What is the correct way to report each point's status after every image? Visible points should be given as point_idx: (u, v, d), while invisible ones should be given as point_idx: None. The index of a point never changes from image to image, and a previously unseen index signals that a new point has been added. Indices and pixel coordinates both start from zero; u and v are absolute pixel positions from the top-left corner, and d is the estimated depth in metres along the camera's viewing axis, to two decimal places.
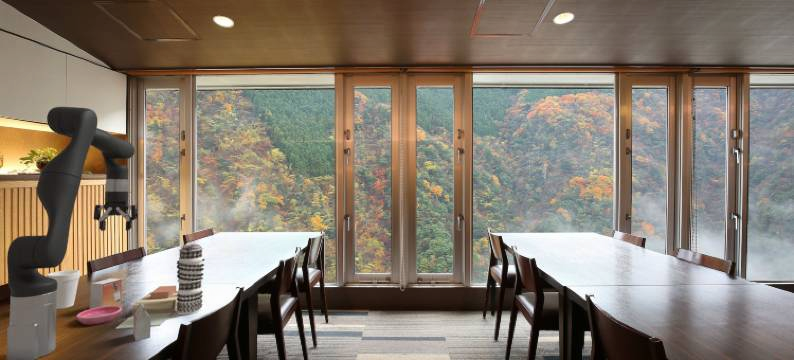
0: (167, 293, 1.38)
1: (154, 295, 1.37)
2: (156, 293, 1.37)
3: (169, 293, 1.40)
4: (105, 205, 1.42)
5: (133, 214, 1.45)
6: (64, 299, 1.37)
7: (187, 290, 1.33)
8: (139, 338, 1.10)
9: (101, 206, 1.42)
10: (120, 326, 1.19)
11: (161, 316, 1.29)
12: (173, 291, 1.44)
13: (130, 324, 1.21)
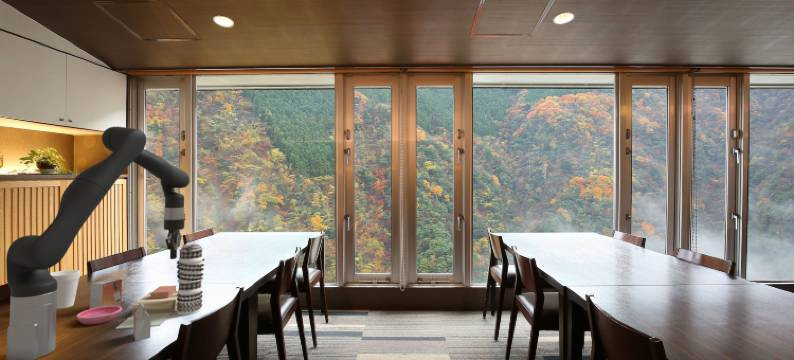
0: (167, 293, 1.38)
1: (154, 295, 1.37)
2: (156, 293, 1.37)
3: (169, 293, 1.40)
4: (173, 234, 1.49)
5: (179, 242, 1.56)
6: (64, 299, 1.37)
7: (187, 290, 1.33)
8: (139, 338, 1.10)
9: (171, 237, 1.48)
10: (120, 326, 1.19)
11: (161, 316, 1.29)
12: (173, 291, 1.44)
13: (130, 324, 1.21)
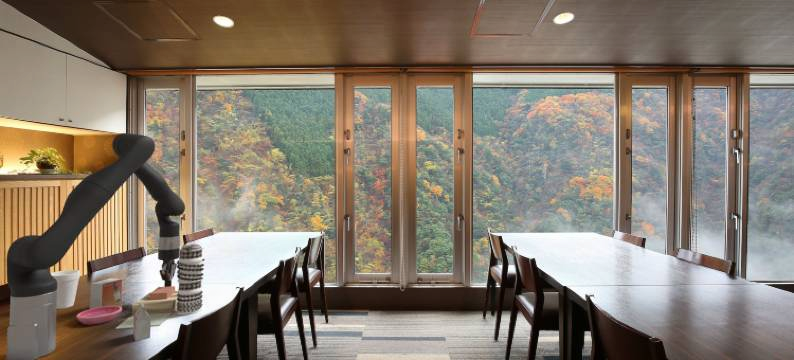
0: (166, 294, 1.37)
1: (152, 296, 1.36)
2: (155, 294, 1.36)
3: (168, 294, 1.38)
4: (168, 264, 1.44)
5: (174, 272, 1.51)
6: (64, 299, 1.37)
7: (187, 290, 1.33)
8: (139, 338, 1.10)
9: (165, 268, 1.43)
10: (120, 326, 1.19)
11: (161, 316, 1.29)
12: (172, 292, 1.43)
13: (130, 324, 1.21)
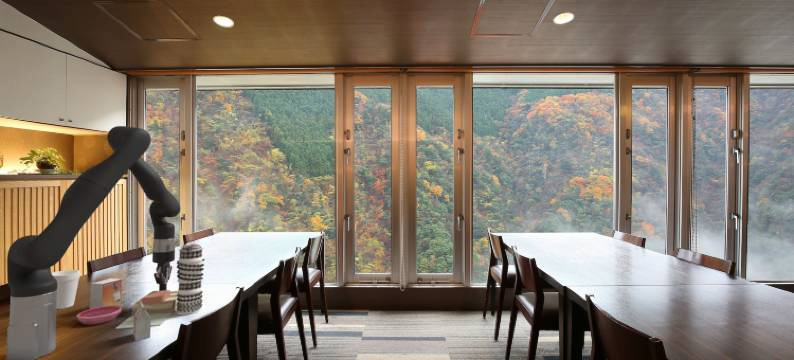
0: (159, 298, 1.32)
1: (145, 300, 1.31)
2: (147, 298, 1.31)
3: (161, 298, 1.33)
4: (163, 267, 1.38)
5: (169, 275, 1.45)
6: (64, 299, 1.37)
7: (187, 290, 1.33)
8: (139, 338, 1.10)
9: (160, 271, 1.37)
10: (120, 326, 1.19)
11: (161, 316, 1.29)
12: (166, 296, 1.37)
13: (130, 324, 1.21)
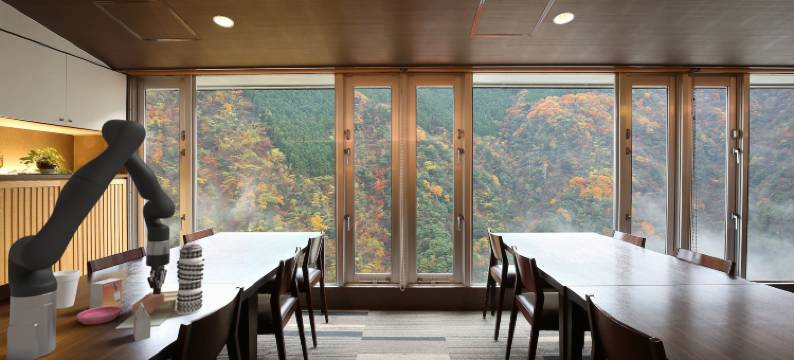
0: (150, 307, 1.25)
1: (136, 309, 1.25)
2: None
3: (153, 307, 1.27)
4: (157, 271, 1.32)
5: (164, 279, 1.39)
6: (64, 299, 1.37)
7: (187, 290, 1.33)
8: (139, 338, 1.10)
9: (154, 275, 1.31)
10: (120, 326, 1.19)
11: (161, 316, 1.29)
12: (159, 302, 1.31)
13: (130, 324, 1.21)
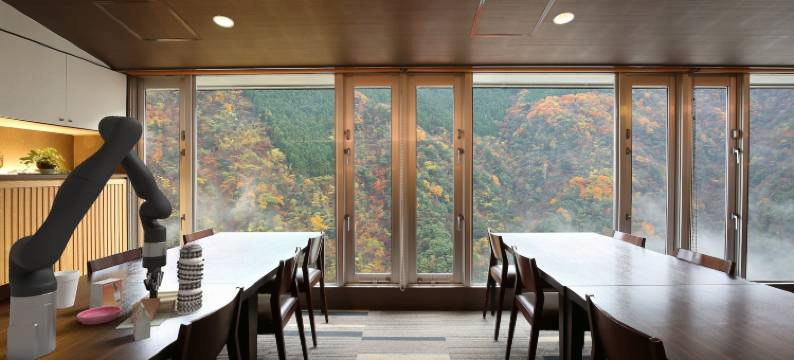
0: None
1: None
2: None
3: (152, 315, 1.25)
4: (153, 273, 1.29)
5: (161, 281, 1.36)
6: (64, 299, 1.37)
7: (187, 290, 1.33)
8: (139, 338, 1.10)
9: (150, 277, 1.28)
10: (120, 326, 1.19)
11: (161, 316, 1.29)
12: (157, 307, 1.29)
13: (130, 324, 1.21)
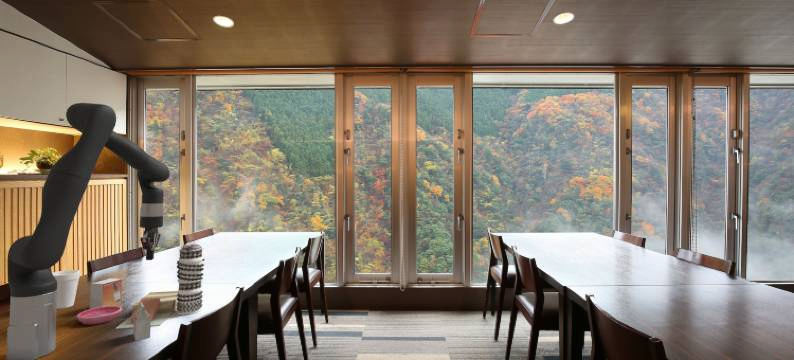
0: None
1: None
2: None
3: (152, 315, 1.25)
4: (150, 232, 1.35)
5: (157, 242, 1.42)
6: (64, 299, 1.37)
7: (187, 290, 1.33)
8: (139, 338, 1.10)
9: (147, 236, 1.34)
10: (120, 326, 1.19)
11: (161, 316, 1.29)
12: (157, 307, 1.29)
13: (130, 324, 1.21)
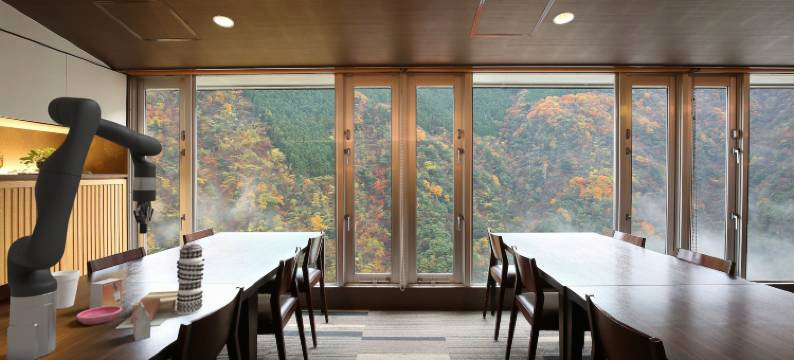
0: None
1: None
2: None
3: (152, 315, 1.25)
4: (143, 205, 1.36)
5: (151, 216, 1.43)
6: (64, 299, 1.37)
7: (187, 290, 1.33)
8: (139, 338, 1.10)
9: (140, 209, 1.35)
10: (120, 326, 1.19)
11: (161, 316, 1.29)
12: (157, 307, 1.29)
13: (130, 324, 1.21)
